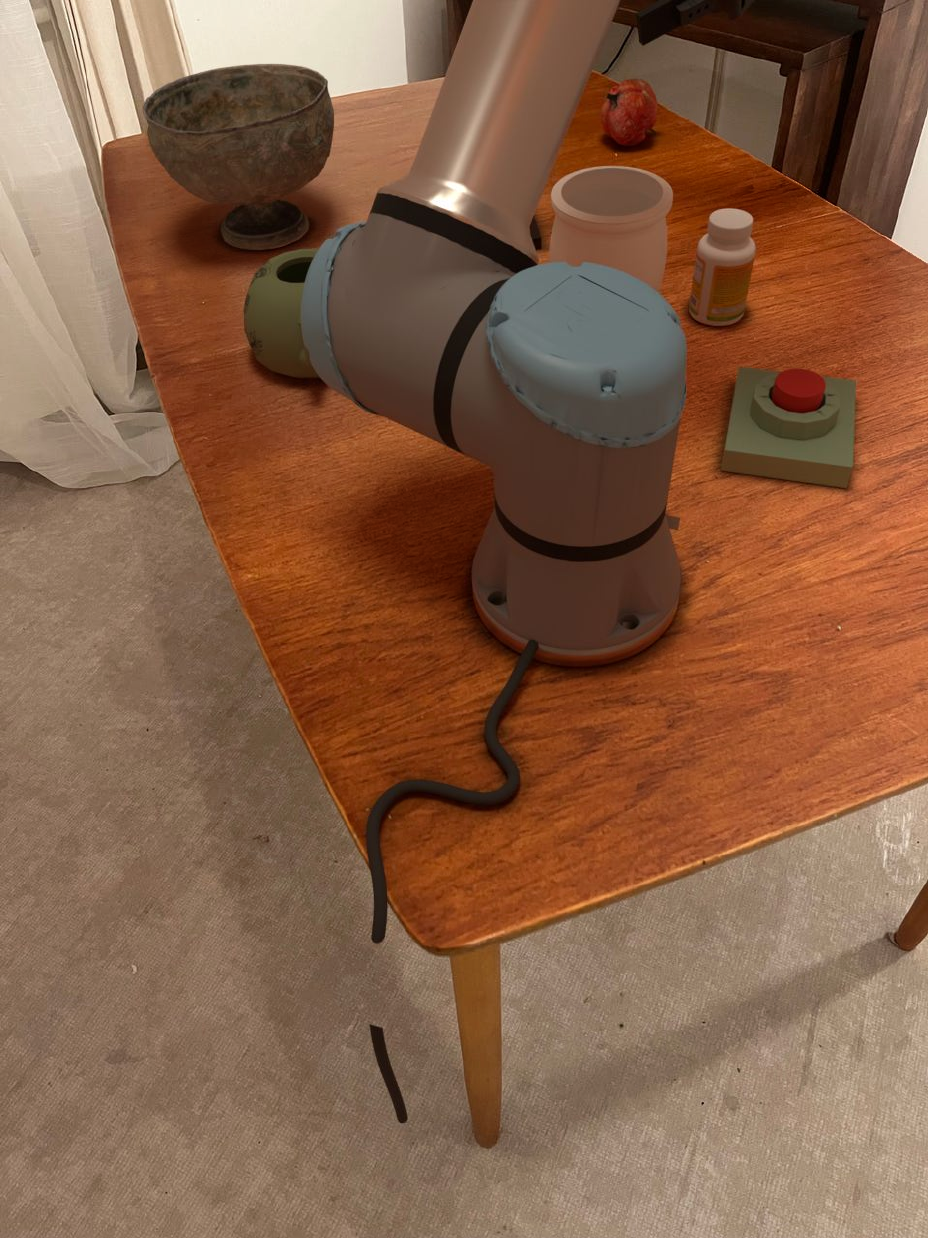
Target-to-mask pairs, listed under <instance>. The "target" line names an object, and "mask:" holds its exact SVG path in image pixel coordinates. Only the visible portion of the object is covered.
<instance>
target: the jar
mask: <svg viewBox="0 0 928 1238" xmlns="http://www.w3.org/2000/svg"><path fill="white" fill-rule="evenodd" d="M673 202H674V191H673V189H672V186H671V185H670V184H669V182H668V181H666V180H665V178H663V177H661V176H660V175H657V174H655V173H654V172H651V171H648V170H645V169H642V168H636V167H633V166H632V167H630V166H622V165H602V166H593V167H587V168H582V169H579V170H576V171H573V172H571V173H569V174H567V175H564V176H563V177H561V178H560V179H559V180H558V181H557V182H556V183H554V185H553V186H552V188H551V192H550V206H551V208H552V211H553V212H554V214H555V215H554V219H553V223H552V227H551V233H550V241H549V251H548V263H552V262H567V263H568V264H569V265H570V266H573V267H579V266H580V265H581V263H582V262H588V263H594V264H599V265H604V266H608V267H611V268H615V269H617V270H620V271H623V272H625V273H628V274H630V275H632V276H634V277H636V278H638V279H640V280H642V281H643V282H645V283H647V284H648V285H650V286H651V287H652V288H654V289H655V290H656V291H657V292H659V293H660V290H661V287H662V283H663V280H664V274H665V269H666V265H667V264H666V263H667V257H668V255H667V254H668V226H667V218H666V217H667V215H668V214H670V213H669V212H670V211H671V208H672V207H673Z"/></svg>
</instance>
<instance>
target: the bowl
mask: <svg viewBox="0 0 928 1238" xmlns="http://www.w3.org/2000/svg"><path fill="white" fill-rule="evenodd" d="M328 86H329V81H328V79H327V78H325V76H324V75H323V74H321V73H320V72H319V71H317V70H314V69H312V68H309V67H307V66H302V65H295V64H285V63H253V64H240V65H231V66H225V67H218V68H212V69H208V70H204V71H201V72H198V73H194V74H190V75H186V76H183V77H181V78H178V79H176V80H174V81H172V82H171V81H170V82H167V83H166V84H164V85H162V86H161V87H159V88H157V89H156V90H154V91H153V92H152V93H151V94H150V96H148V97H146V99H145V101H144V102H143V104H142V114H143V117H144V119H145V120H146V124H147V130H146V135H147V139H148V143H149V145H150V148H151V151H152V153H153V154H154V156H155V158H156V159H157V161H158V162H159V164H160V165H161V166H162V167H163V169H164V170H165V172H167V174H168V175H169V177H170V178H171V179H173V181H175V182H176V183H177V184H178V185H180V187H182V188H183V189H185V191H187V193H189V194H191V195H193V196H194V197H196V198H198V199H201V200H203V201H205V202H208V203H211V204H215V205H217V206H234V208H233V209H232V210H231V211H230V212H228V213H227V215H226V216H225V217H224V218H223V220H222V223H221V226H220V232H221V235H222V238H223V240H224V242H225V243H227V244H228V245H230V246H232V247H233V248H237V249H241V250H246V251H247V250H248V251H263V250H272V249H278V248H282V247H284V246H287V245H289V244H292V243H294V242H297V241H299V240H301V239H302V237H303V236H305V235H306V234H307V232H308V231H309V227H310V225H309V224H310V223H309V219H308V217H307V215H306V213H305V212H304V211H303V210H302V209H301V208H300V207H299V206H298V205H295V204H294V203H292V202H290V201H287V200H284V198H286V197H287V196H289V195H292V194H294V193H296V192H297V191H300V190H301V189H303V188H304V187H306V186H307V185H308V184H309V183H310V182H312V181H313V180H314V179H316V178H317V177H319V176H320V174H321V173H322V171H323V169H324V168H325V165H326V163H327V160H328V158H329V157H330V155H331V150H332V145H333V139H334V129H335V111H334V110H335V109H334V106H333V103H332V99H331V96H330V92H329V87H328Z"/></svg>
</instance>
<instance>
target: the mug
mask: <svg viewBox="0 0 928 1238" xmlns="http://www.w3.org/2000/svg"><path fill="white" fill-rule="evenodd" d="M318 250H319V248H299V249H295V250H290V251H285V252H283V253H280V254H278V255H276V256H274V257H271V258H270V259H268V260H266V262H265V263H264V264H262V265H261V266H260V267H259V268H258V269H257V270H256V271H255V273H254V274H253V276H252V279H251V280H250V284H249V286H248V290H247V292H246V296H245V300H244V305H243V329H244V333H245V337H246V338H247V339H246V340H247V341H248V345H249V346H250V349H251V351H252V353H253V355H254V357H255V359H256V361H257V362H259V364H261V365H262V366H264V367H265V368H267V369H268V370H269V371H271V372H273V373H276V374H277V373H278V374H281V375H284V376H288V377H292V378H296V379H321V378H320V377H319V375H318V374H317V373H316V371H315V369H314V368H313V366H312V364H311V362H310V357H309V351H308V349H307V348H306V346H305V344H304V341H303V336H302V329H301V300H302V294H303V287H304V283H305V279H306V276H307V273H308V270H309V267H310V265H311V263H312V260H313V258H314V256H315V255H316V253H317V251H318Z"/></svg>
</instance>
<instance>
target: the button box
mask: <svg viewBox="0 0 928 1238" xmlns="http://www.w3.org/2000/svg"><path fill="white" fill-rule="evenodd" d="M781 372H782V370H781V371H779V370H771V369H763V368H756V367H755V368H754V367H746V366H738V369H737V374H736V379H735V383H734V384H735V385H734V389H733V396H732V401H731V408H730V413H729V419H728V425H727V431H726V436H725V441H724V448H723V454H722V459H721V466H720V471H722V472H728V473H735V474H742V475H744V474H745V475H750V476H758V477H764V478H771V479H772V478H773V479H778V480H785V481H793V482H799V483H807V484H812V485H813V484H814V485H819V486H828V487H833V488H834V487H835V488H840V489H841V488H842V489H847V487H848V485H849V481H850V478H851V476H852V472H853V469H854V454H855V453H854V452H855V451H854V450H855V425H856V396H857V380H856V379H847V378H838V377H831V376H822V375H820V376H821V377H822V378H823V379H824V380H825V383H826V388H825V392H824V395H823V399H822V403H821V405H820V407H819V408H818V409H817V410H816V411H813V412H808V413H803V414H802V413H794V412H787V411H785V410H783V409H781V408H779V407H777V406H775V404H774V403H773V401H772V392H773V388H774V383H775V379H776V377H777V375H778V374H779V373H781Z"/></svg>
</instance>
